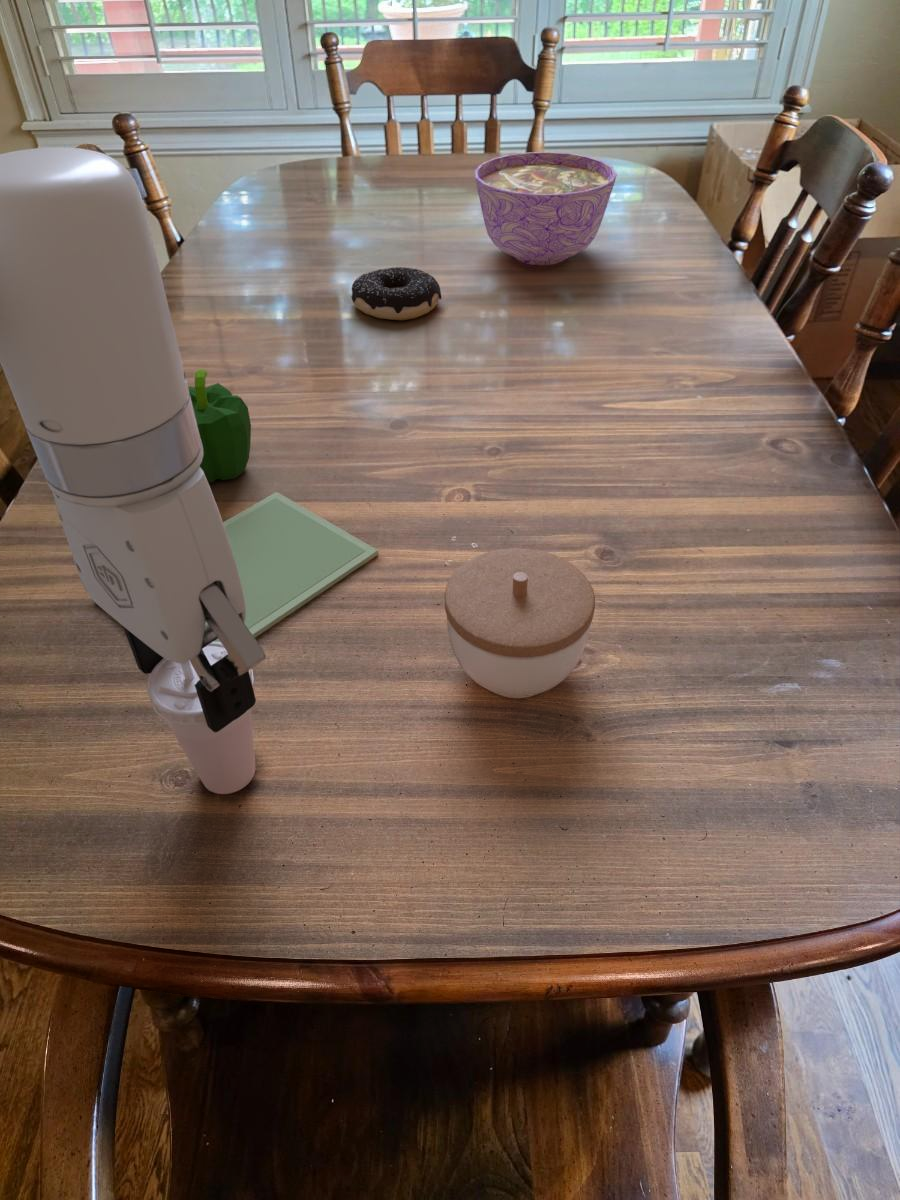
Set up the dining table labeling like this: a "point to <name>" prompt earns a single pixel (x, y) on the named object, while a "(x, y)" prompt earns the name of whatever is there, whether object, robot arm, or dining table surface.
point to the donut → (396, 293)
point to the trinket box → (518, 619)
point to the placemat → (288, 558)
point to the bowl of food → (543, 203)
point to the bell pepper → (221, 429)
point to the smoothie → (203, 725)
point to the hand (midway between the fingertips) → (196, 685)
